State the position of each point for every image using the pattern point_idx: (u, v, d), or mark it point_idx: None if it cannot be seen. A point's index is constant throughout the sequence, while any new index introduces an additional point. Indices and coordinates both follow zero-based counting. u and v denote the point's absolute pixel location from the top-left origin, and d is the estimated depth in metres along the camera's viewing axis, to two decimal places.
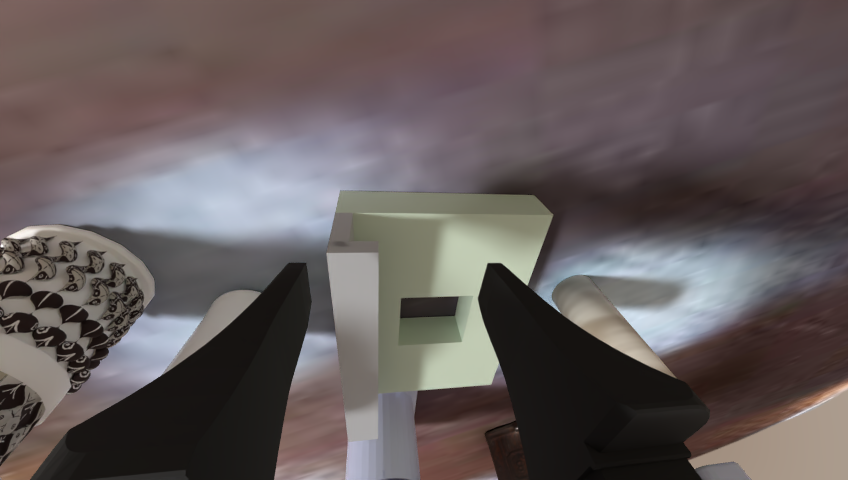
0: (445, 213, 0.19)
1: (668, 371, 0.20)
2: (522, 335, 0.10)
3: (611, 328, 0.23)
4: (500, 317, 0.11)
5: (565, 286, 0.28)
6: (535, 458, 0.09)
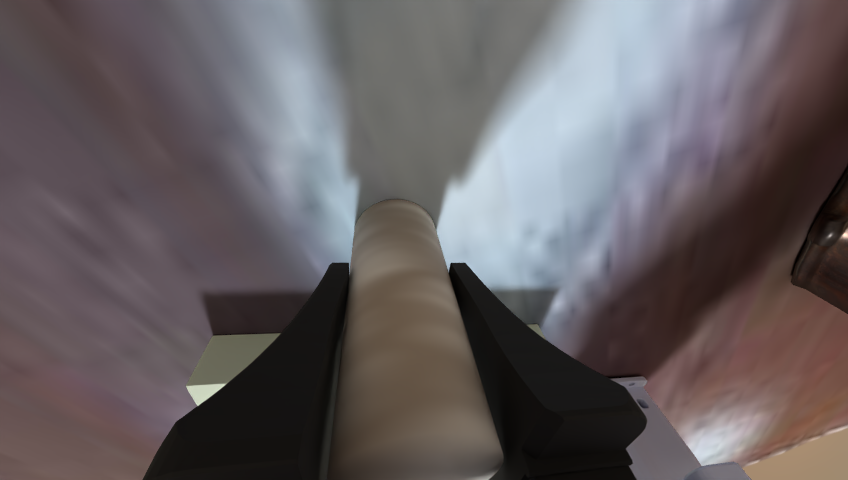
0: None
1: (334, 454, 0.06)
2: (476, 337, 0.10)
3: None
4: None
5: None
6: None
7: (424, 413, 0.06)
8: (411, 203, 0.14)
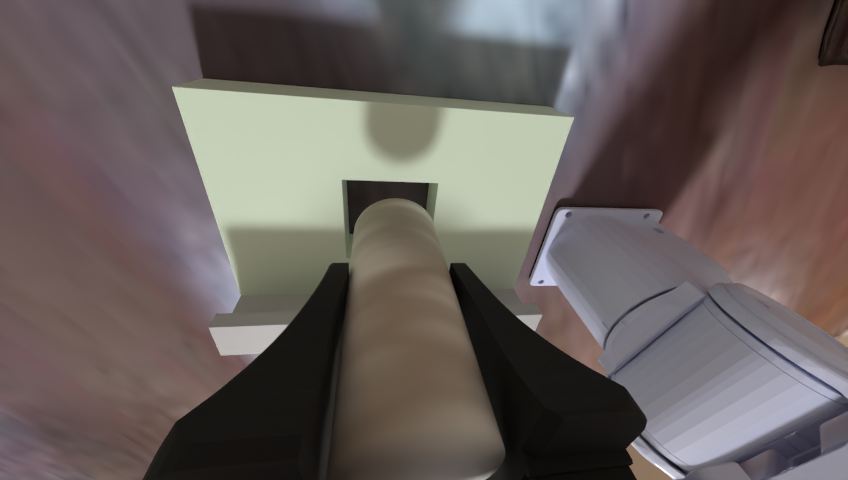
0: (218, 223, 0.18)
1: (334, 449, 0.06)
2: (476, 337, 0.10)
3: None
4: None
5: None
6: None
7: (426, 406, 0.06)
8: (411, 202, 0.14)
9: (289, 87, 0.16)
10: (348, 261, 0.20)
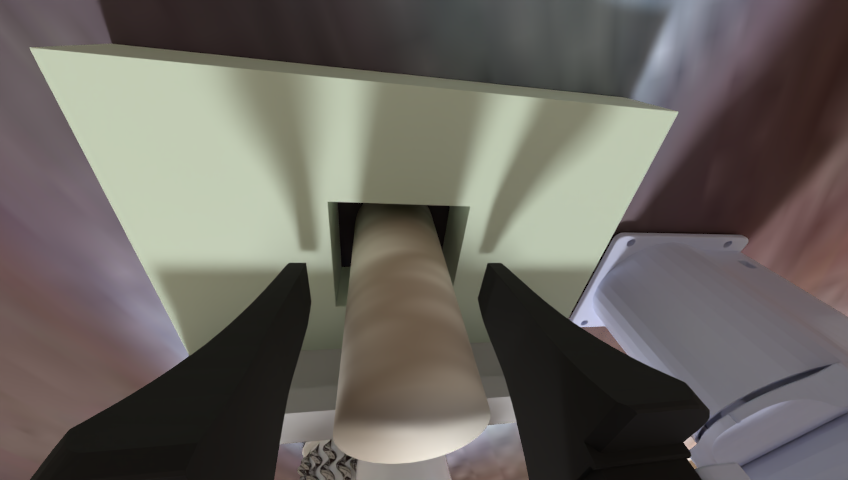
0: (144, 264, 0.12)
1: (340, 407, 0.07)
2: (522, 335, 0.10)
3: None
4: (500, 317, 0.11)
5: None
6: (535, 458, 0.09)
7: (420, 370, 0.07)
8: None
9: (246, 59, 0.11)
10: (338, 310, 0.15)
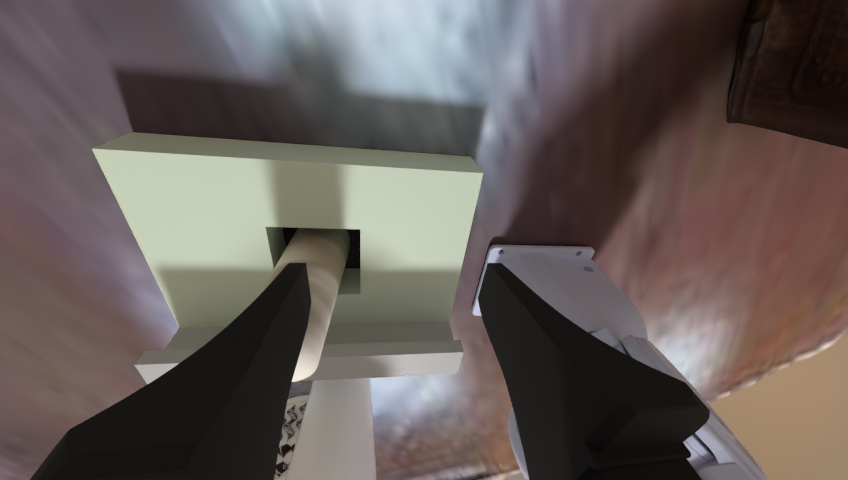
0: (149, 264, 0.19)
1: None
2: (522, 335, 0.10)
3: None
4: (499, 317, 0.11)
5: None
6: (535, 458, 0.09)
7: None
8: None
9: (214, 141, 0.17)
10: None
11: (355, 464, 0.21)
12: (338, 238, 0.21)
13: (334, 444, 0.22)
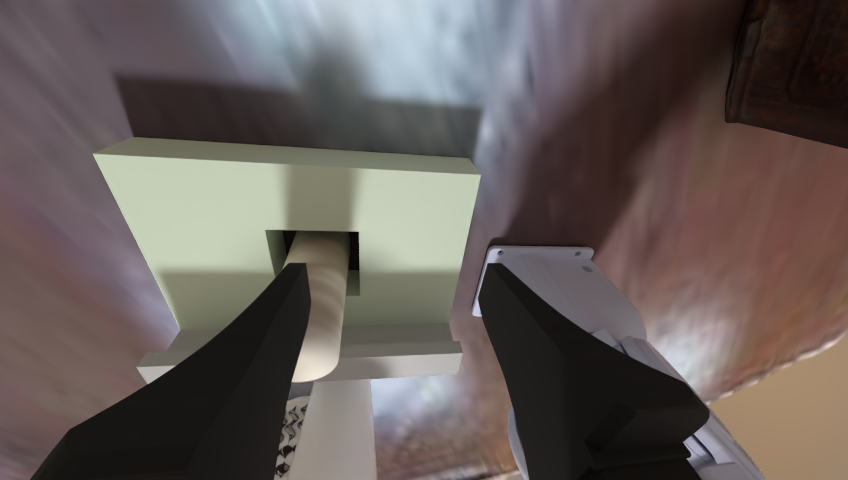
0: (151, 267, 0.19)
1: None
2: (522, 335, 0.10)
3: None
4: (500, 317, 0.11)
5: None
6: (535, 458, 0.09)
7: None
8: None
9: (213, 145, 0.18)
10: None
11: (355, 465, 0.22)
12: (340, 238, 0.21)
13: (335, 445, 0.22)
